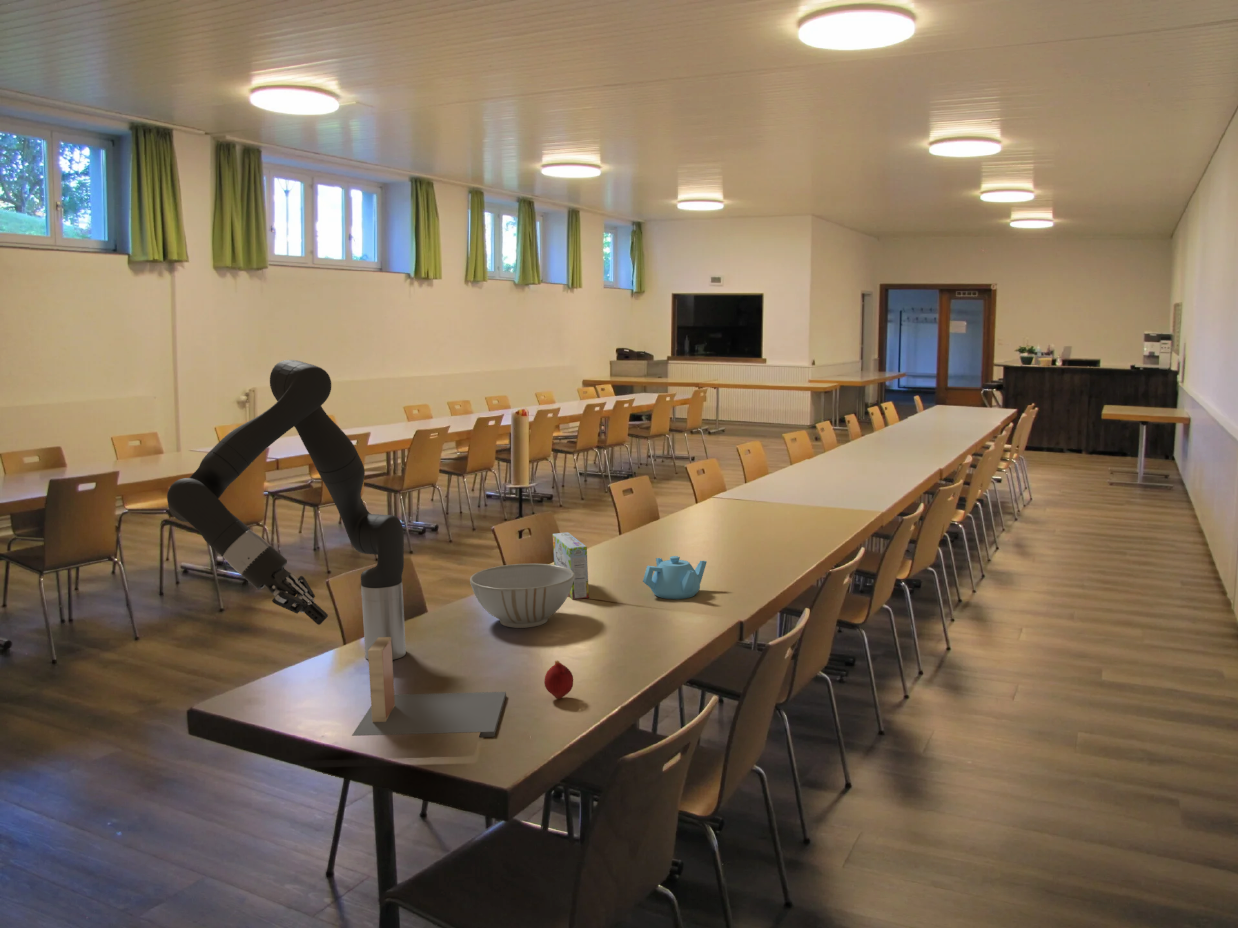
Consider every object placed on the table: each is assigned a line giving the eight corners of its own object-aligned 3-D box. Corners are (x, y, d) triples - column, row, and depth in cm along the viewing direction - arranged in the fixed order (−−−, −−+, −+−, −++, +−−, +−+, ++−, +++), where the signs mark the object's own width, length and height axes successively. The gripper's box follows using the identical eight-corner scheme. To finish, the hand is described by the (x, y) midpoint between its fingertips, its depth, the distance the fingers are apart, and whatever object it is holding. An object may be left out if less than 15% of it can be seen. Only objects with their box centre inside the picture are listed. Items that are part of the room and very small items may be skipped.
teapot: (657, 585, 280) (657, 549, 279) (707, 588, 275) (707, 551, 274) (641, 598, 266) (640, 561, 265) (693, 602, 261) (693, 564, 260)
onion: (574, 692, 196) (572, 655, 195) (573, 703, 190) (572, 664, 189) (545, 693, 196) (544, 656, 195) (544, 704, 190) (543, 665, 189)
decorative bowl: (527, 643, 229) (525, 594, 227) (450, 625, 245) (447, 579, 243) (596, 616, 250) (595, 571, 248) (521, 601, 266) (519, 559, 264)
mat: (378, 699, 195) (378, 694, 194) (506, 696, 195) (505, 691, 195) (352, 740, 175) (351, 735, 175) (494, 736, 175) (494, 731, 175)
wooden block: (382, 705, 188) (378, 637, 187) (395, 705, 189) (391, 636, 187) (372, 721, 181) (368, 650, 179) (385, 721, 181) (381, 650, 179)
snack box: (553, 582, 286) (551, 533, 284) (571, 580, 288) (569, 531, 286) (571, 600, 266) (569, 547, 264) (590, 598, 268) (588, 545, 266)
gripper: (255, 552, 173) (326, 616, 175) (280, 537, 187) (346, 597, 188) (228, 582, 174) (299, 645, 176) (254, 565, 187) (321, 624, 189)
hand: (323, 620), depth 182 cm, fingers closed
